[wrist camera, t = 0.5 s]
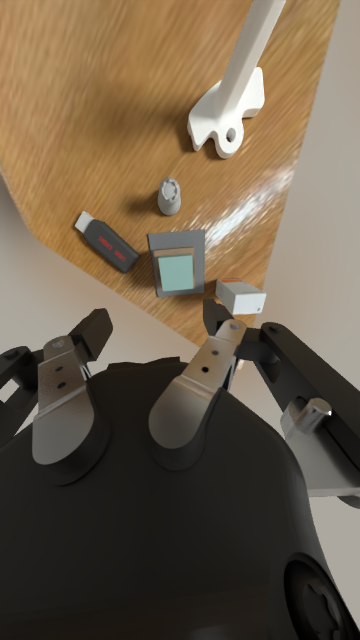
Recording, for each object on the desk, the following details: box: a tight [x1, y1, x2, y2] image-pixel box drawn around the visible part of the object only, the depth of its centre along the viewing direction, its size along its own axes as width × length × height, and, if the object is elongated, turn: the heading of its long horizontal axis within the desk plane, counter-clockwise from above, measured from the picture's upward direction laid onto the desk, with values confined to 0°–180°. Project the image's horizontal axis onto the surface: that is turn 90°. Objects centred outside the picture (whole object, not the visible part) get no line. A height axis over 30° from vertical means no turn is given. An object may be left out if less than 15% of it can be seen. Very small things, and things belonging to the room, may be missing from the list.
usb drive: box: [75, 211, 140, 274], centre depth 30 cm, size 5×12×3 cm, turn 45°
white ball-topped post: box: [187, 0, 286, 159], centre depth 15 cm, size 11×8×20 cm
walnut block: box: [154, 247, 195, 290], centre depth 32 cm, size 8×8×4 cm
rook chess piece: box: [158, 178, 181, 216], centre depth 25 cm, size 4×4×8 cm
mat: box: [148, 229, 205, 297], centre depth 34 cm, size 14×12×1 cm
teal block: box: [158, 253, 193, 291], centre depth 28 cm, size 6×6×4 cm
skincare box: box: [215, 278, 266, 314], centre depth 32 cm, size 6×4×12 cm
